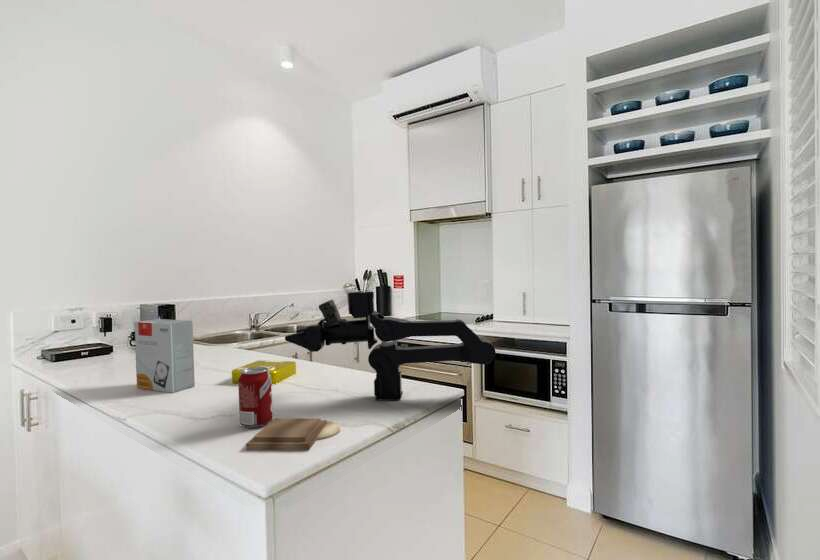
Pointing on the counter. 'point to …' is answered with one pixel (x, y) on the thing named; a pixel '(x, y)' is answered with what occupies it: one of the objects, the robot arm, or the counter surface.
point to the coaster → (329, 430)
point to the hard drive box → (164, 355)
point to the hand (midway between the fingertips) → (291, 335)
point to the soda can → (255, 397)
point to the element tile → (269, 370)
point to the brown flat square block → (287, 434)
